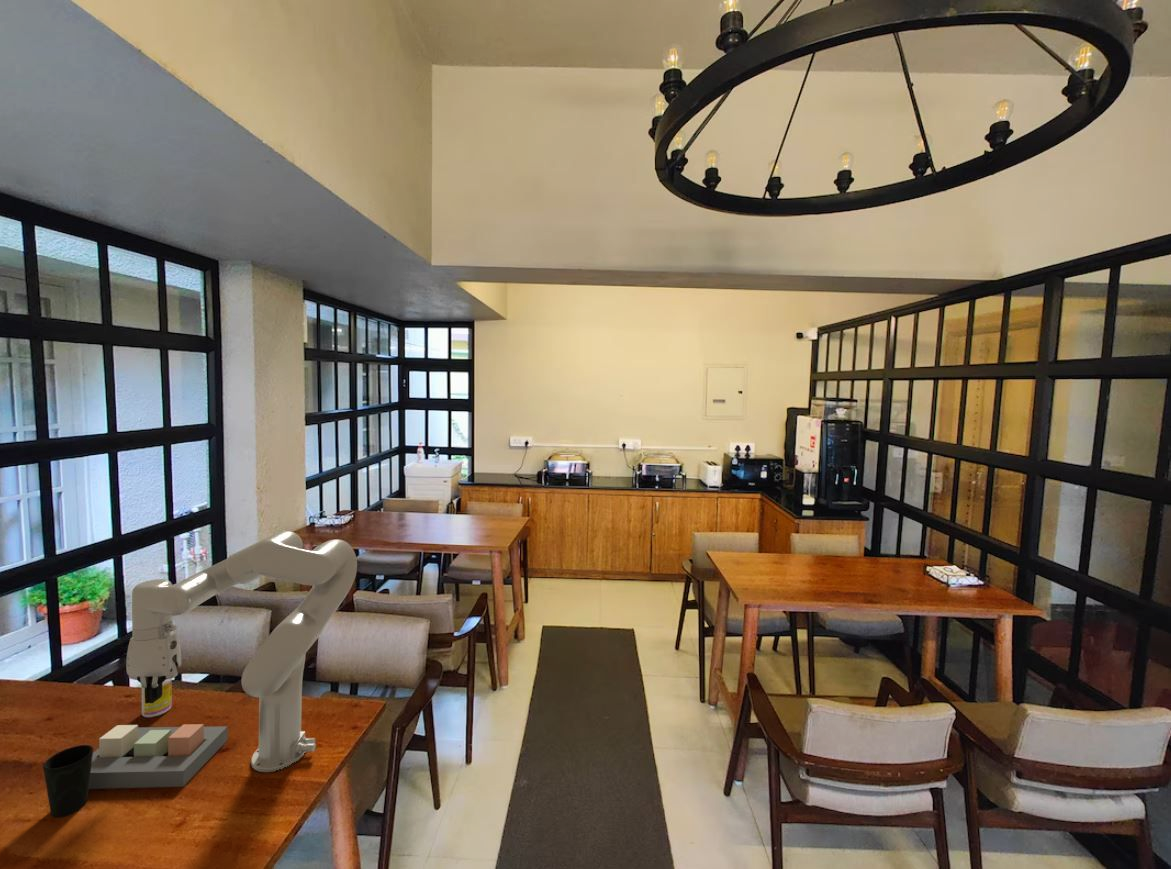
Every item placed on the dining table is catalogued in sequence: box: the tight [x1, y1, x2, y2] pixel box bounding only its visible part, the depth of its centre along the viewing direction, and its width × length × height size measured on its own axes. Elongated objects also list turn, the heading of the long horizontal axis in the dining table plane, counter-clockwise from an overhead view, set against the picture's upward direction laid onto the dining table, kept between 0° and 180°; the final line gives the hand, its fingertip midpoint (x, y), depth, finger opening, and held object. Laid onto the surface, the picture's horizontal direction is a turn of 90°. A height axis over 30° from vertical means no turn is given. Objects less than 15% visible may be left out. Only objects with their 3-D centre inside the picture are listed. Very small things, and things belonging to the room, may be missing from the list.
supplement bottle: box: [141, 678, 173, 718], centre depth 140 cm, size 7×7×13 cm
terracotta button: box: [167, 723, 205, 756], centre depth 121 cm, size 5×5×5 cm
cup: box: [42, 744, 94, 819], centre depth 107 cm, size 8×8×12 cm
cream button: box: [98, 724, 139, 757], centre depth 120 cm, size 5×5×5 cm
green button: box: [133, 730, 171, 757], centre depth 121 cm, size 5×5×5 cm
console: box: [88, 725, 229, 790], centre depth 121 cm, size 26×16×4 cm, turn 95°
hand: (153, 699), depth 120 cm, fingers closed
